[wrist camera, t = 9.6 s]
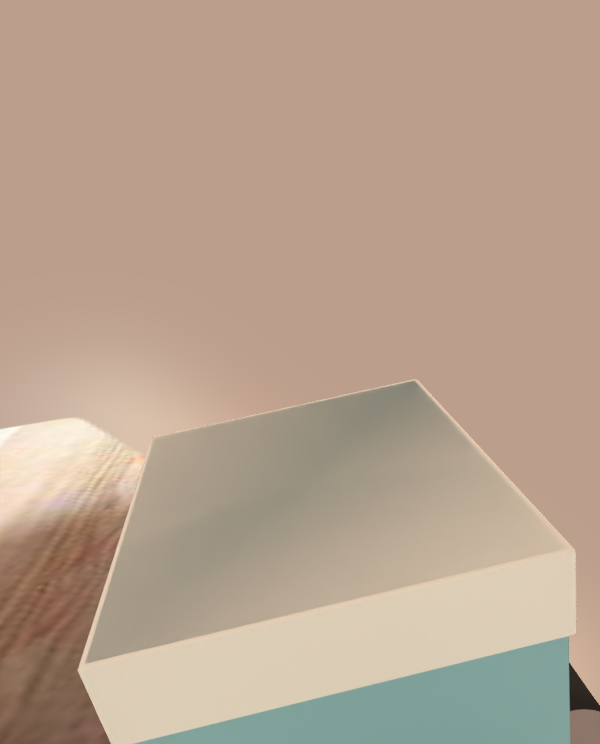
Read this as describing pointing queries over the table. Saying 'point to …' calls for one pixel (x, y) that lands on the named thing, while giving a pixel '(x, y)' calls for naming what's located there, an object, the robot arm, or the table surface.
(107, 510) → the table surface
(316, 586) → the teal tall block
